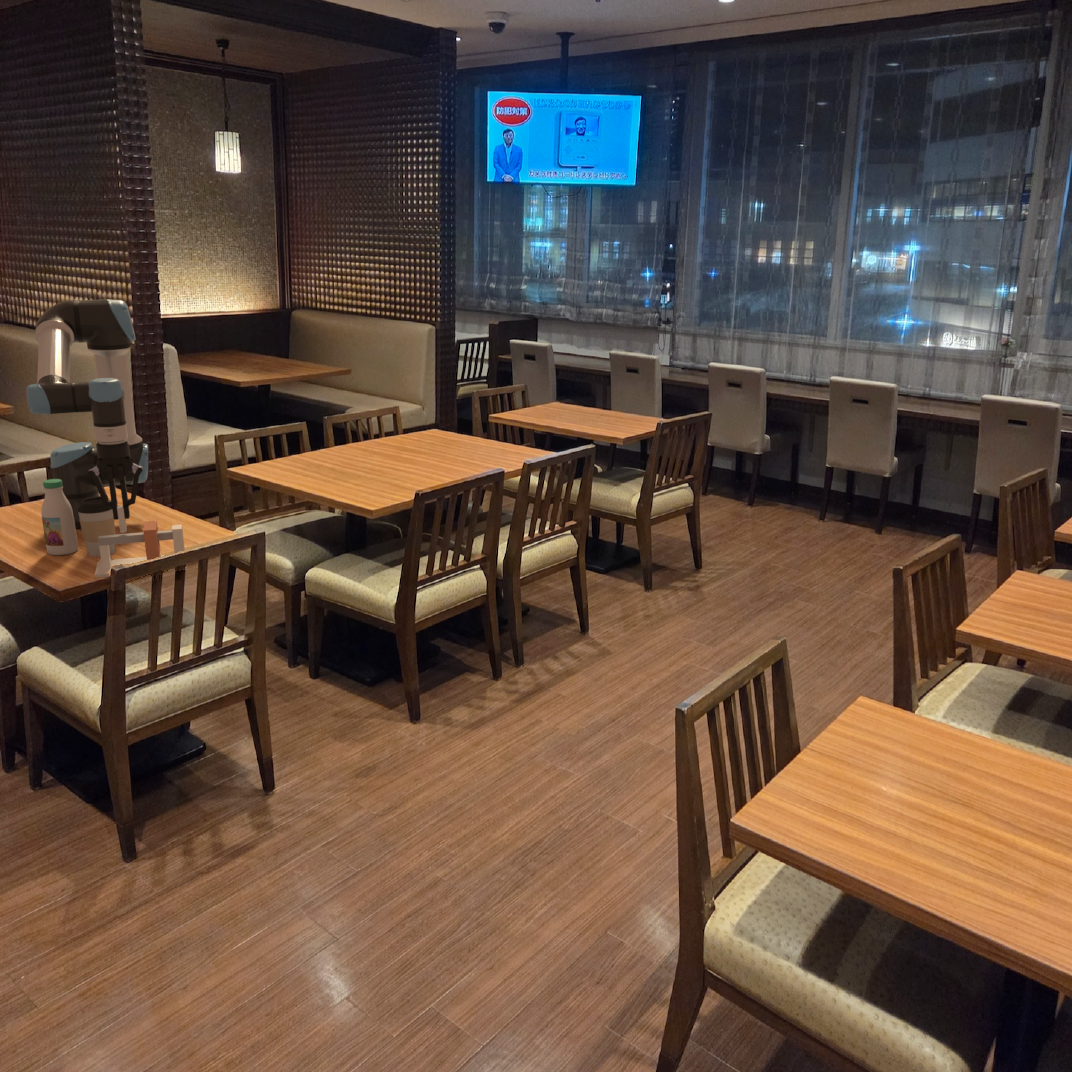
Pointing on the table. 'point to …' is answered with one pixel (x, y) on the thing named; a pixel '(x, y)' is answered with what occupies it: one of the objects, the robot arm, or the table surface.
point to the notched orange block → (151, 540)
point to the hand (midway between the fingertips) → (123, 530)
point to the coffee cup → (96, 524)
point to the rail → (108, 562)
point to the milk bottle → (58, 520)
